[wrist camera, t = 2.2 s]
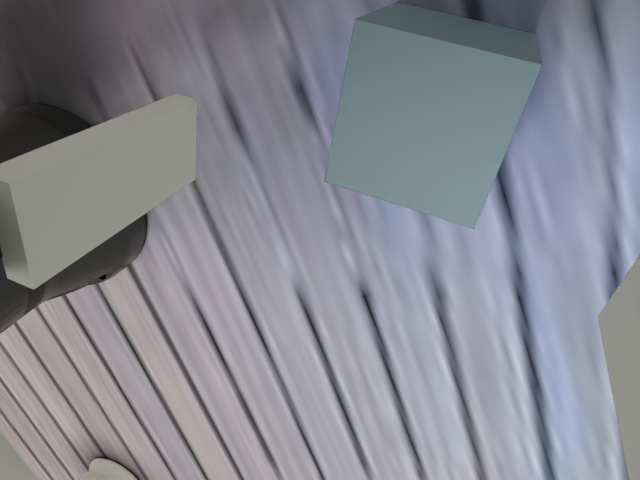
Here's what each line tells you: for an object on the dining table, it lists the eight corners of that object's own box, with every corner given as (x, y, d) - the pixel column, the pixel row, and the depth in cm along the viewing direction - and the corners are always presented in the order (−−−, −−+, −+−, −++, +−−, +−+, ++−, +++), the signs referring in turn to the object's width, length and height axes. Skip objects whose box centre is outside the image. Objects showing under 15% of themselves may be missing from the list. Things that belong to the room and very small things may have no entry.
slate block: (368, 129, 28) (324, 181, 22) (398, 1, 25) (354, 19, 18) (484, 163, 27) (474, 228, 21) (535, 33, 23) (542, 64, 17)
